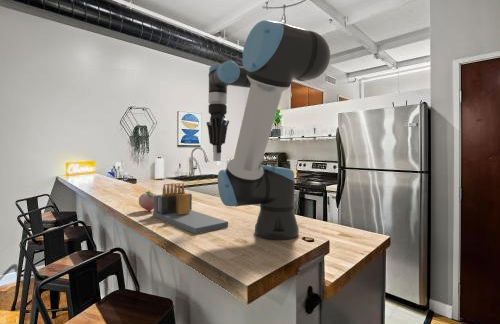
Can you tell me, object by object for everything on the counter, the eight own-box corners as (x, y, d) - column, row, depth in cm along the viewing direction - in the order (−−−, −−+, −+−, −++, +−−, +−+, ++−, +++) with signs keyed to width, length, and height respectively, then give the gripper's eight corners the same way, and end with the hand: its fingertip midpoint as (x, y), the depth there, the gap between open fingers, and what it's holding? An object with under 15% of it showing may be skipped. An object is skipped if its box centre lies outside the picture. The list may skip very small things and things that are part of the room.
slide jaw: (198, 211, 113) (199, 193, 113) (168, 216, 103) (168, 196, 103) (188, 208, 119) (189, 191, 119) (159, 212, 109) (159, 193, 109)
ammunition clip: (162, 213, 110) (163, 184, 110) (161, 212, 112) (161, 184, 112) (185, 209, 118) (185, 183, 117) (183, 209, 119) (183, 182, 119)
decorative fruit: (135, 210, 123) (135, 189, 123) (152, 208, 129) (152, 188, 129) (143, 214, 116) (143, 192, 116) (160, 211, 122) (161, 190, 122)
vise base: (228, 226, 98) (228, 203, 98) (195, 234, 88) (195, 207, 88) (181, 211, 123) (182, 192, 123) (152, 215, 114) (152, 195, 114)
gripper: (234, 103, 107) (233, 161, 107) (215, 107, 116) (215, 160, 117) (219, 100, 102) (219, 161, 102) (201, 105, 111) (200, 160, 112)
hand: (217, 160), depth 110 cm, fingers closed
